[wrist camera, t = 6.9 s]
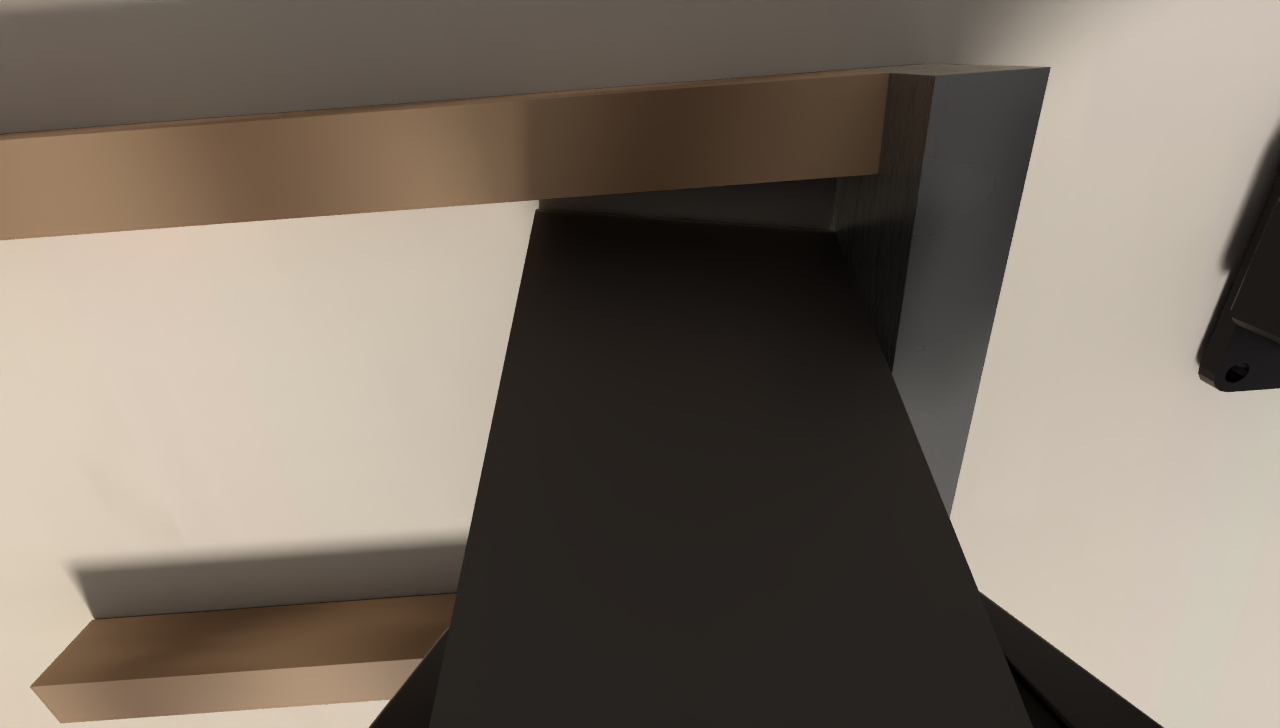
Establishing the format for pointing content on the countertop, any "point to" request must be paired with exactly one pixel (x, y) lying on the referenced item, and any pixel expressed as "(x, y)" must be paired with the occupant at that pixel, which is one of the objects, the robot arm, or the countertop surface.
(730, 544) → the phone stand
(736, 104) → the guide track
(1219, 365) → the robot arm
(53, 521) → the countertop surface
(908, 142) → the end stop
